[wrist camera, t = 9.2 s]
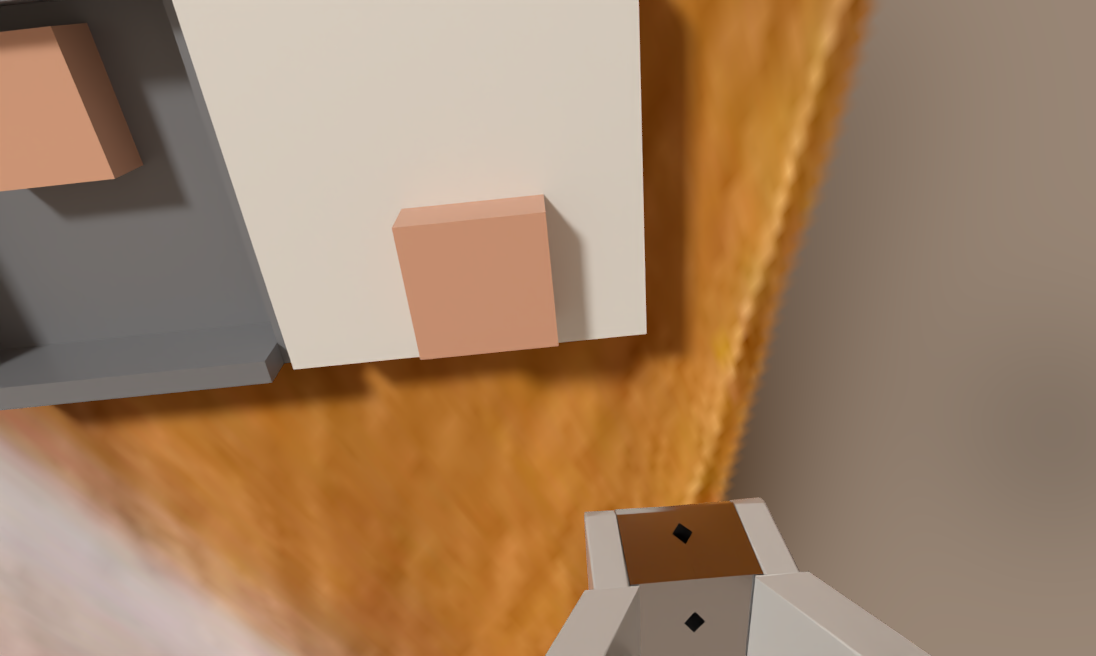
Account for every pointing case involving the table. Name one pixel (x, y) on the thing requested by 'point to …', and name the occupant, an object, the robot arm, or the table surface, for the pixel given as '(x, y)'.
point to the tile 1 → (59, 111)
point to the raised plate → (424, 149)
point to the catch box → (133, 240)
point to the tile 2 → (477, 276)
